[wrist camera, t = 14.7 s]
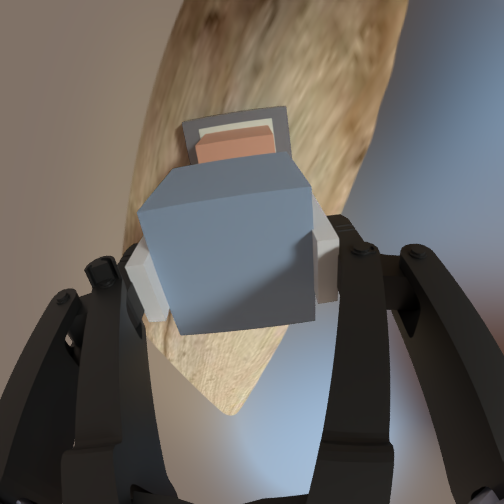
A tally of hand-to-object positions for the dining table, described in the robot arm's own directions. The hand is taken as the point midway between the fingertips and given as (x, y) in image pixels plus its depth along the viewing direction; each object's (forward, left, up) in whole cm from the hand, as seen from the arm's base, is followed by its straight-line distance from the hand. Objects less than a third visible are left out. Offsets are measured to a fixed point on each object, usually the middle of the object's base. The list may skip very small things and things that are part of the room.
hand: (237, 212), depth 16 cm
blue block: (0, 0, 0) cm, 0 cm away
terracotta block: (0, 0, -14) cm, 14 cm away
